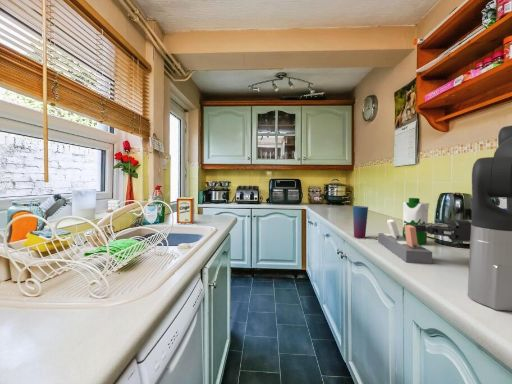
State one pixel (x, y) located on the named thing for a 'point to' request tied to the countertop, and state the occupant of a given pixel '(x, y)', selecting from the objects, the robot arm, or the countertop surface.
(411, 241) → the rocker terracotta
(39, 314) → the countertop surface
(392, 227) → the rocker offwhite
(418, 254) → the power strip
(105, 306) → the countertop surface
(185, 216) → the baking soda box
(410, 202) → the milk carton
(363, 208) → the cup
